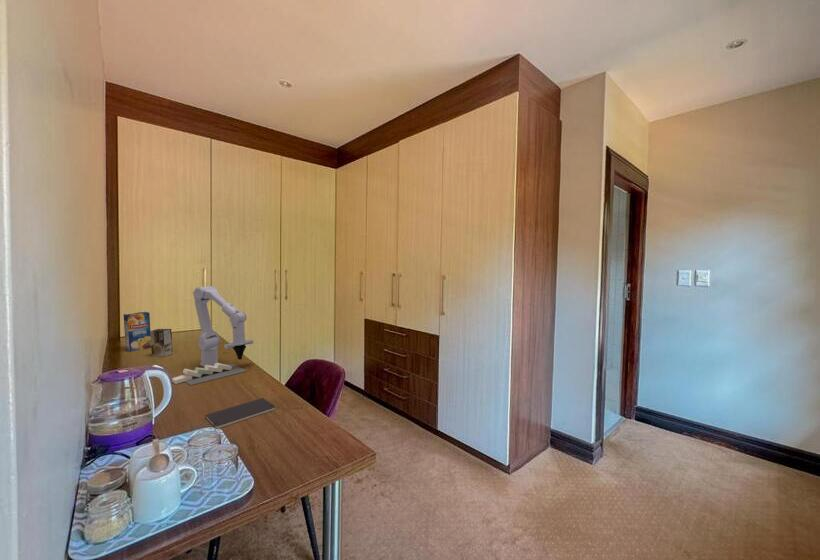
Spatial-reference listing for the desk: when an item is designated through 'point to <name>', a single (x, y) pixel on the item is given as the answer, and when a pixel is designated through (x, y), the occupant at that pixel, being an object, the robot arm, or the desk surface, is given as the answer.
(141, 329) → the blue food box
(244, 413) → the notebook
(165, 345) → the coffee box
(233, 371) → the charcoal mat
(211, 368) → the domino
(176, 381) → the domino
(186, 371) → the domino
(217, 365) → the domino
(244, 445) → the desk surface
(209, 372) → the sage domino
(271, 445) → the desk surface
